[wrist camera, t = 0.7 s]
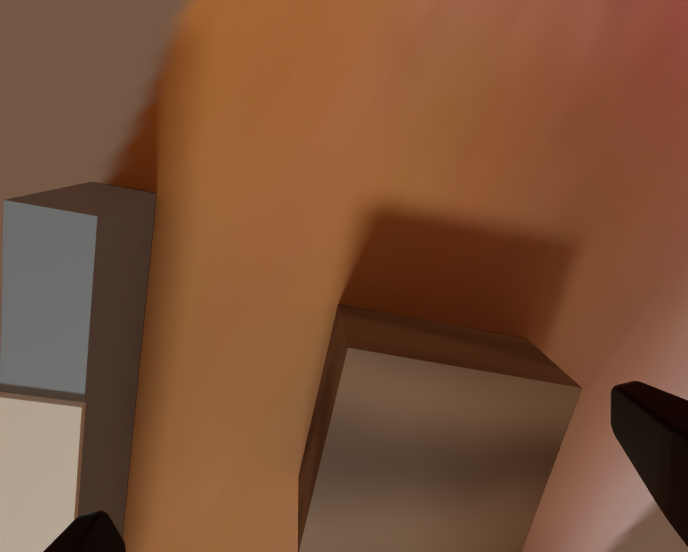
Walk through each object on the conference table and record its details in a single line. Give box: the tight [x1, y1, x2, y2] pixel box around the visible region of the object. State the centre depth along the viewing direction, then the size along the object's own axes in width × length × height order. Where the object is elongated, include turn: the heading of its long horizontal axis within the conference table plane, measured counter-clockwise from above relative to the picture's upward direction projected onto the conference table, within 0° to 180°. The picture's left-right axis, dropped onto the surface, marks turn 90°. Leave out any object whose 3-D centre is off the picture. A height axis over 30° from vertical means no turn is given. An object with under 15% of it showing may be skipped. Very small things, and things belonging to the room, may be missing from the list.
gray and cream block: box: [0, 182, 157, 552], centre depth 19 cm, size 22×3×6 cm, turn 169°
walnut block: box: [298, 304, 582, 552], centre depth 21 cm, size 9×9×5 cm
